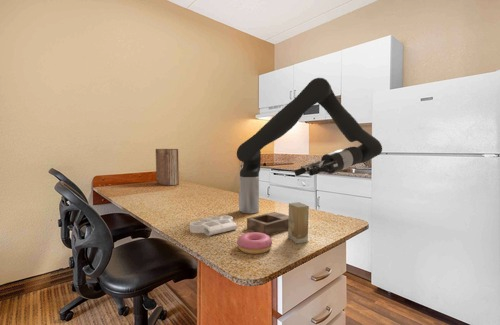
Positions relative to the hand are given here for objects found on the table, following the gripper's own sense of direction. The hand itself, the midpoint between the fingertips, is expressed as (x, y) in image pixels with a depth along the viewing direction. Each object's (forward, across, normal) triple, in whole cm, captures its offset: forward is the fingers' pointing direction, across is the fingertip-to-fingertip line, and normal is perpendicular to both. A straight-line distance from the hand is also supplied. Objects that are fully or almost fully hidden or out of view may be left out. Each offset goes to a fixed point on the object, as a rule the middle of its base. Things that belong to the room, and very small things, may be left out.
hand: (302, 173), depth 89 cm
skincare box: (+9, 0, +21) cm, 23 cm away
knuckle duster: (+30, -23, +14) cm, 40 cm away
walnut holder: (+11, -14, +19) cm, 26 cm away
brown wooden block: (+32, -155, -2) cm, 158 cm away
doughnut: (+25, +1, +18) cm, 30 cm away
